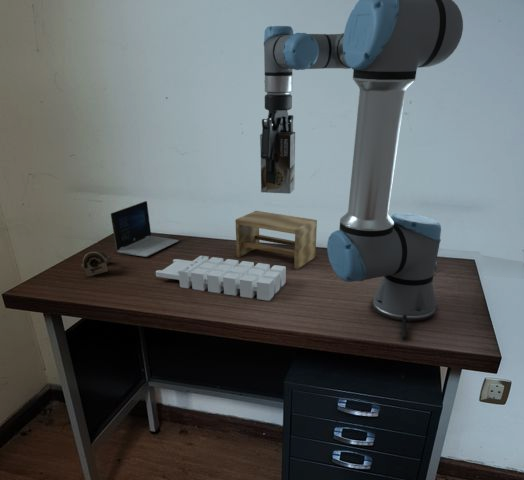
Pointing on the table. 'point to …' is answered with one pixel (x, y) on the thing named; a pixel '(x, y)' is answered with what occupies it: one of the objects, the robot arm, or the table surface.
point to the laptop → (136, 232)
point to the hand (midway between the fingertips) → (277, 180)
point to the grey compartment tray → (227, 276)
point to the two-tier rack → (289, 224)
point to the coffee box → (281, 165)
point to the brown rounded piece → (95, 263)
